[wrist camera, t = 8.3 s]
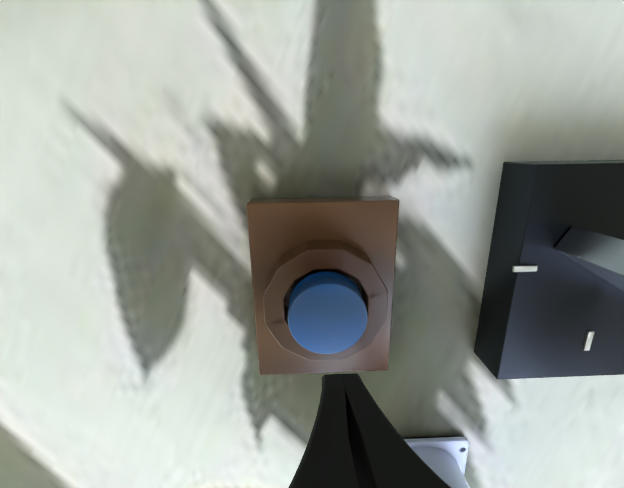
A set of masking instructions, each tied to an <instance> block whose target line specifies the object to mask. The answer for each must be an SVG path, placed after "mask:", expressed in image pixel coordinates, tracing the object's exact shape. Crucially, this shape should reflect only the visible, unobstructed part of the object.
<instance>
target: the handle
mask: <svg viewBox="0 0 624 488" xmlns="http://www.w3.org/2000/svg"><path fill="white" fill-rule="evenodd" d="M555 250H557V251H559V252H560V253H562V254H563V255H565V256H567V257H568V258H570V259H571V260H573V261H575V262H576V263H578V264H580V265H581V266H583V267H584V268H586V269H588V270H589V271H591V272H593V273H594V274H596V275H597V276H599V277H601V278H602V279H604V280H605V281H607V282H609V283H610V284H612V285H614V286H615V287H617V288H618V289H620V290H622V291H623V292H624V240H621V239H618V238H614V237H611V236H607V235H604V234H600V233H597V232H593V231H590V230H586V229H583V228H579V227H576V226H572V227H571V228H570V229H569V231H568V232H567V233H566V234H565V236H564V237H563V238H562V239H561V241H560V242H559V243H558V244H557V246H556V247H555Z"/></svg>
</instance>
